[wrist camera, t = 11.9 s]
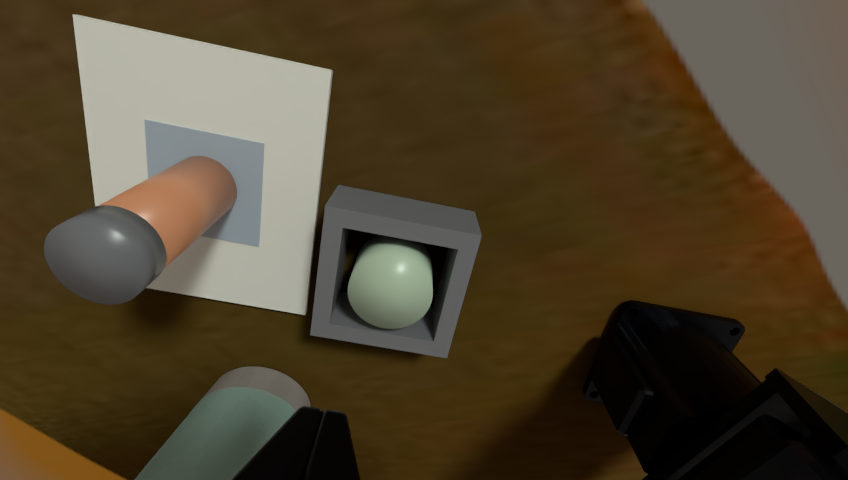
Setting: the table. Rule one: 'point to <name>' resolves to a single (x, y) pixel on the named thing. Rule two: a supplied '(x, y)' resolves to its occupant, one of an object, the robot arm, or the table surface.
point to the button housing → (405, 223)
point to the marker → (139, 231)
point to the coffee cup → (227, 426)
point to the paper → (213, 151)
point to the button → (391, 282)
